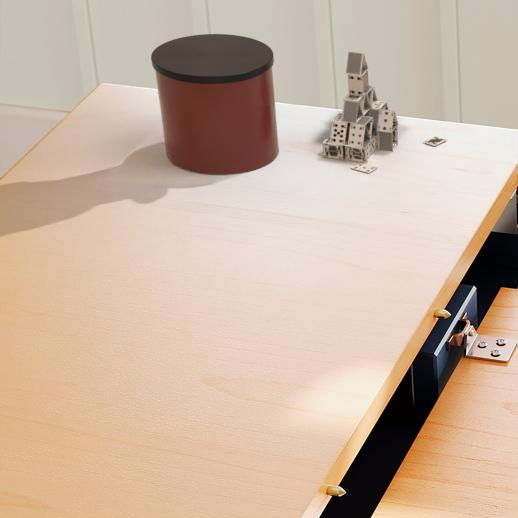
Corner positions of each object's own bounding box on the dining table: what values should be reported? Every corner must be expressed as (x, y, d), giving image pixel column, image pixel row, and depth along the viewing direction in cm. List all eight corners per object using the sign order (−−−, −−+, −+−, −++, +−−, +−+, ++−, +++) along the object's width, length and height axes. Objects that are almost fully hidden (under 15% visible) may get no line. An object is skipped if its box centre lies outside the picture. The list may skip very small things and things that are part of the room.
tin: (158, 176, 123) (145, 76, 118) (169, 129, 130) (157, 33, 125) (279, 175, 124) (270, 76, 119) (283, 129, 131) (275, 34, 126)
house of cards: (416, 180, 124) (414, 86, 120) (313, 165, 126) (307, 72, 121) (449, 138, 131) (448, 47, 127) (351, 124, 133) (346, 34, 128)
